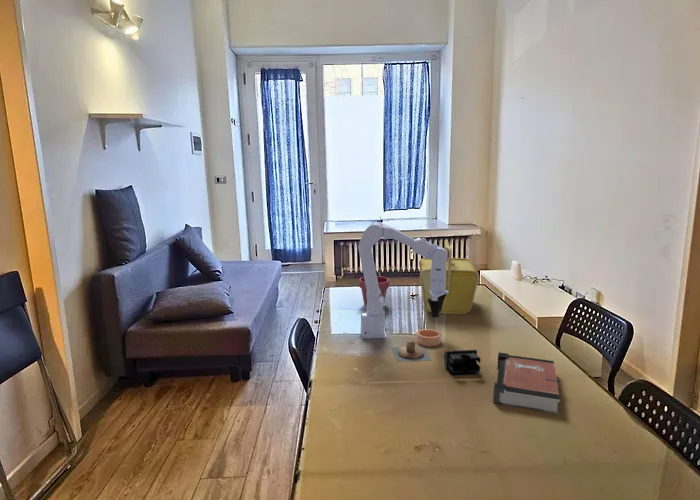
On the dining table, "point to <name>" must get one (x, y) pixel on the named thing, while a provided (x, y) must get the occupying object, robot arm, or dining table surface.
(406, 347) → the lid
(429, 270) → the picnic basket
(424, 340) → the bowl
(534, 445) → the dining table surface
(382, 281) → the plant pot
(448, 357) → the end cap
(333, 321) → the dining table surface
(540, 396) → the book
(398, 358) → the mat
